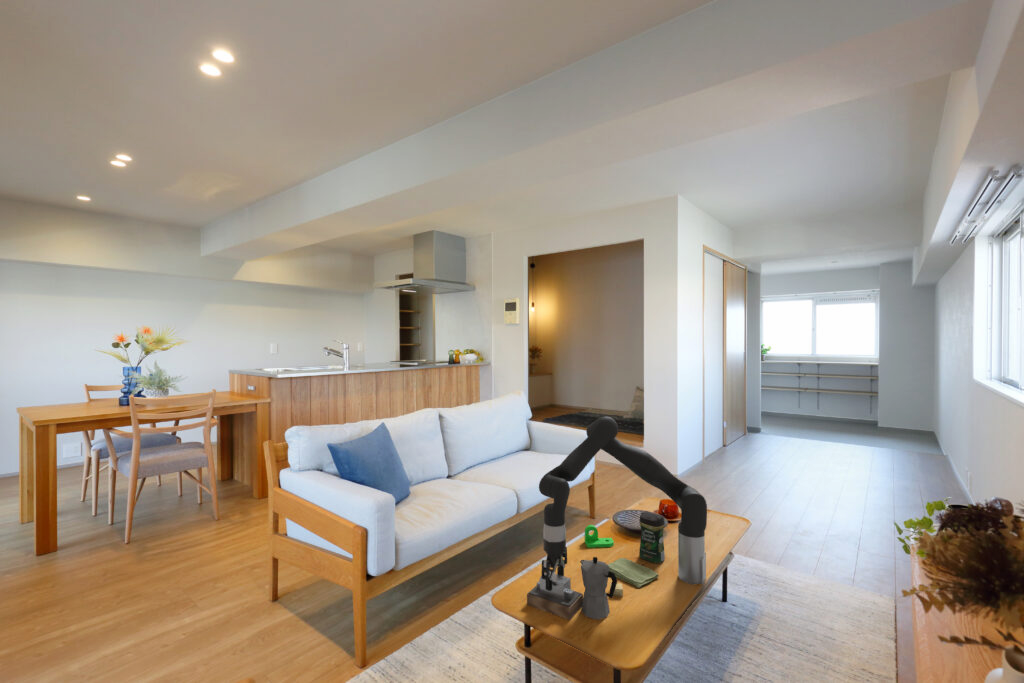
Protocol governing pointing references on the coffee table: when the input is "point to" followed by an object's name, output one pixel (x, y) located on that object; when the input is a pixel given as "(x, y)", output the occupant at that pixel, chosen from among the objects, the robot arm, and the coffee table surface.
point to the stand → (555, 603)
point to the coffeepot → (596, 588)
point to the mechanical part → (596, 538)
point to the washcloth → (632, 572)
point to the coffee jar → (652, 537)
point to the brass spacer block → (618, 590)
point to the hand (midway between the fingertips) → (554, 584)
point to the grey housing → (557, 587)
